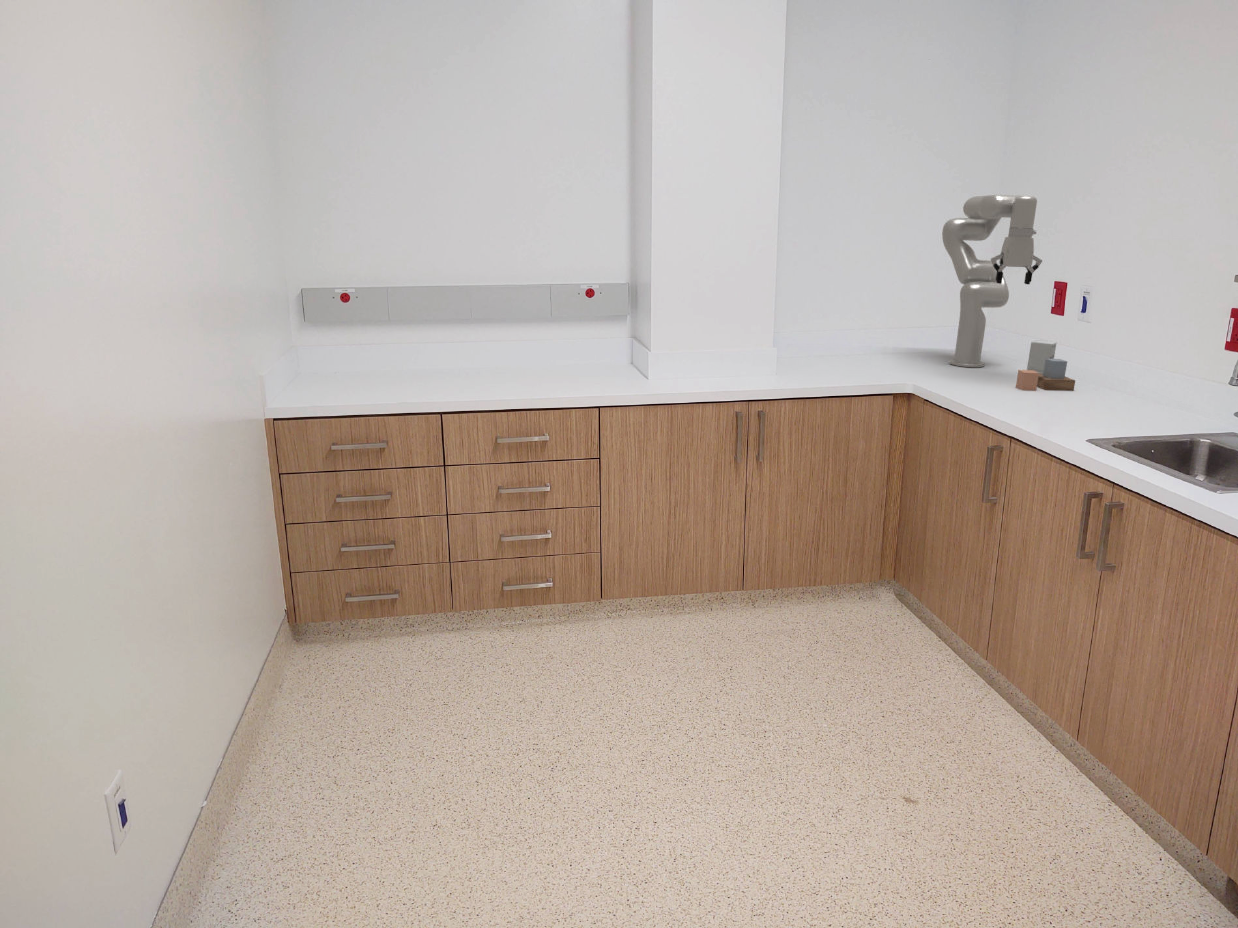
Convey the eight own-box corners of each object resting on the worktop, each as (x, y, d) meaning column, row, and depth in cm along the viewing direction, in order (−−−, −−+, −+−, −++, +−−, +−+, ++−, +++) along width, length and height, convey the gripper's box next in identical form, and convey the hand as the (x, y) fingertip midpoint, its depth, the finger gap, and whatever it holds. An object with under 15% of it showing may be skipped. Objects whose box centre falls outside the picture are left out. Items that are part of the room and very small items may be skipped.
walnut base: (1030, 385, 320) (1032, 374, 319) (1058, 386, 321) (1060, 374, 320) (1044, 391, 311) (1046, 379, 309) (1073, 391, 311) (1075, 380, 310)
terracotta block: (1015, 387, 314) (1018, 369, 313) (1030, 387, 314) (1033, 370, 312) (1021, 390, 309) (1023, 372, 308) (1036, 390, 309) (1039, 373, 308)
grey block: (1042, 375, 316) (1045, 358, 315) (1056, 376, 317) (1059, 358, 315) (1050, 378, 312) (1053, 361, 310) (1064, 379, 312) (1067, 361, 310)
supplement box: (1046, 379, 330) (1052, 344, 327) (1025, 376, 335) (1030, 341, 331) (1051, 376, 336) (1057, 342, 332) (1030, 373, 340) (1035, 339, 337)
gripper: (1041, 233, 320) (1033, 283, 325) (991, 232, 321) (984, 282, 325) (1050, 234, 313) (1042, 285, 318) (998, 233, 313) (991, 284, 318)
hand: (1012, 283), depth 322 cm, fingers open, 9 cm apart
